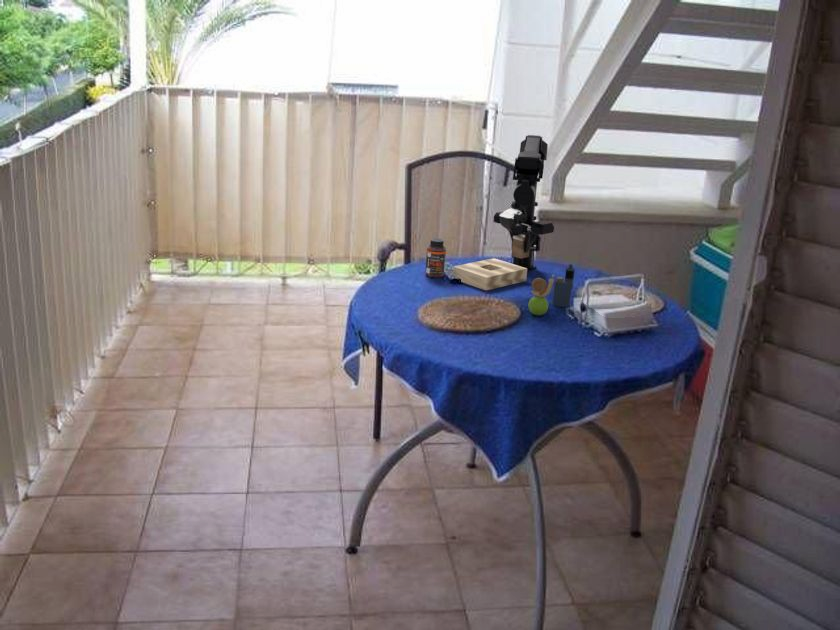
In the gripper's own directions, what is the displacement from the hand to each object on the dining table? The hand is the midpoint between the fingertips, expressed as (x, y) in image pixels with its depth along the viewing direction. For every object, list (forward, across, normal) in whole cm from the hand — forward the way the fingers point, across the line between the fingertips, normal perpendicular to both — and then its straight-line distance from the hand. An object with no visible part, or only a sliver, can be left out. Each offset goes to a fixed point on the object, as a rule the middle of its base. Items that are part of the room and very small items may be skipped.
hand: (520, 251), depth 243 cm
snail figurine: (+12, +20, -14) cm, 27 cm away
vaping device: (+12, +18, -2) cm, 21 cm away
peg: (+2, 0, 0) cm, 2 cm away
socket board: (+12, -11, 0) cm, 16 cm away
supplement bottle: (+12, -24, -11) cm, 29 cm away
